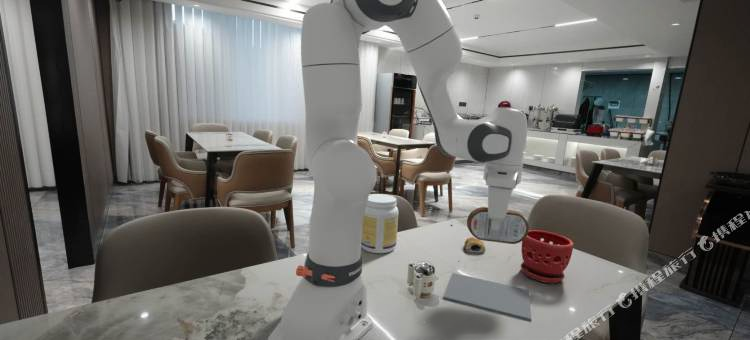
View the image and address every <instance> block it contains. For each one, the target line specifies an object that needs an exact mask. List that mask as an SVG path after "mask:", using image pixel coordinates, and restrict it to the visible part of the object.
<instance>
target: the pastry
mask: <svg viewBox="0 0 750 340" xmlns="http://www.w3.org/2000/svg"><path fill="white" fill-rule="evenodd" d="M464 245H465V247H464V249H465V251H466V252H467V253H472V254H483V253H485V251H486V246H485V243H484V242H483V240H479V239H477V238H475V237H468V238H466V239H465V242H464Z"/></svg>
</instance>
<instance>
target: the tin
mask: <svg viewBox="0 0 750 340" xmlns="http://www.w3.org/2000/svg"><path fill="white" fill-rule="evenodd" d="M466 226H467V229H468V231H469V233H470V234H471V235H472V237H473V238H475V239H479V240H480V241H485V242H493V243H499V244H500V243H501V244H509V245H516V244H519V243H522V241H523V240H524V239H525V238H526V236H527V234H528V231H529V230H530V229H529V228H530V227H529V222H528V220H527V219H526V218H525V216H524V215H523V214H522V213H520V212H518V211H516V210H511V209H508V210H507V213H506V217H505V219H504V220H501V222H500V227H499V230H493V229H492V219H490V218H489V217H488V206H487V207H483V206H480V207H478V208H475V209H474V210H472V211H471V212H470V213H469V215H468V216H467V219H466Z"/></svg>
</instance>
